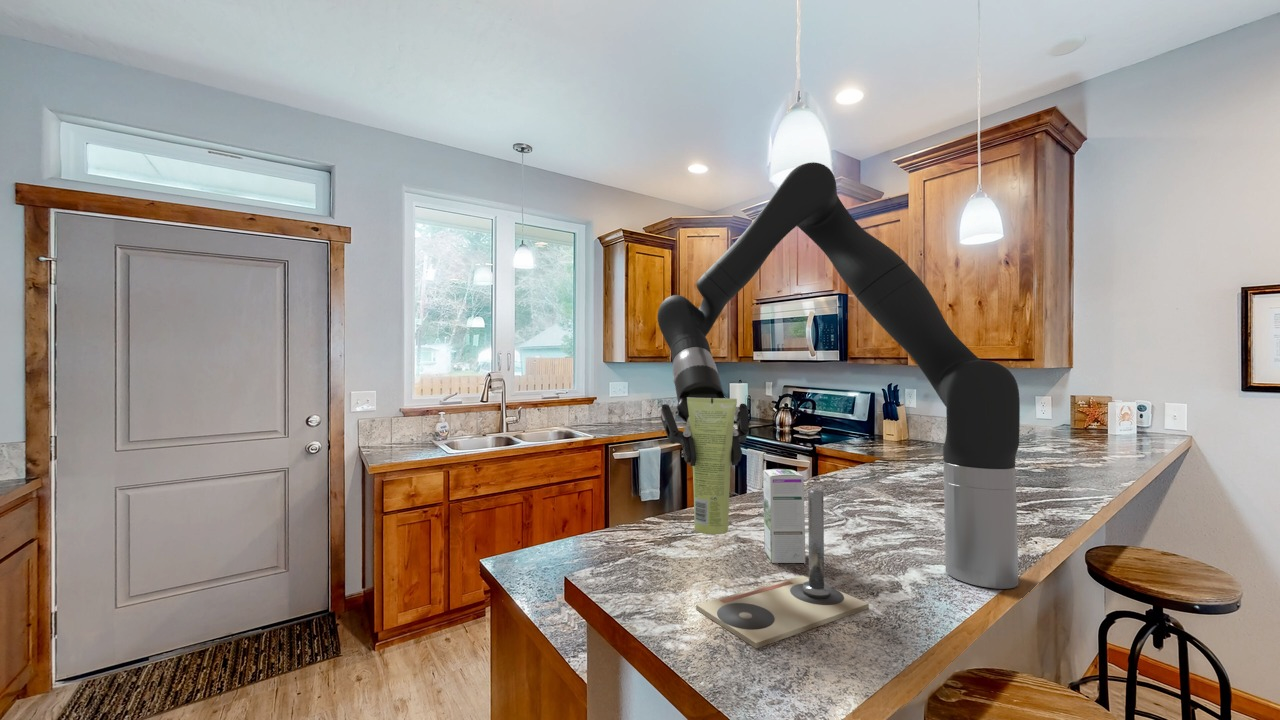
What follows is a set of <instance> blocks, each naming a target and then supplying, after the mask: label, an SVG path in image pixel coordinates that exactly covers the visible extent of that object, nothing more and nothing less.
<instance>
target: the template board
mask: <svg viewBox="0 0 1280 720" xmlns="http://www.w3.org/2000/svg"><path fill="white" fill-rule="evenodd" d="M807 581H809V576H804V575H798V576H796V577H792V578H789V579H785V580H780V581H778V582H774V583H770V584H766V585H764V586H759V587H755V588H752V589H749V590H745V591H741V592H738V593H734V594H731V595H726V596H723V597H719V598H716V599H712V600H708V601H704V602H701V603H697V604H695V609H696V611H698V612H700V613H701V614H703V615H704V616H705V617H707V618H708V619H710V620H712V621H713V622H715V623H716V624H718V625H719V626H721V627H722V628H724V629H726V630H727V631H729V632H730V633H732V634H733V635H734V636H736V637H737V638H739V639H740V640H742V641H744V642H745V643H747V644H749V646H751V647H753V648H754V649H758V648H762V647H764V646H767V645H770V644H773V643H776V642H778V641H779V642H780V641H781V640H783V639H787V638H789V637H792V636H796V635H798V634H801V633H804V632H806V631H810V630H812V629H815V628H817V627H820V626H823V625H826V624H829V623H831V622H834V621H837V620H840V619H843V618H846V617H849V616H851V615H853V614H857V613H859V612H862V611H864V610H865V611H866V610H868V609H869V608H870V606H869V602H866V601H863V600H861V599H859V598H856V597H854V596H852V595H849V594H847V593H845V592H843V591H840V590H837V589H835V588H834V587H832V586H830V588H831V596H830V598H828V599H814V598H810V597H808V596H806V595H805V594H804V593H803V583H804V582H807Z"/></svg>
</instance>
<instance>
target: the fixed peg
mask: <svg viewBox="0 0 1280 720" xmlns="http://www.w3.org/2000/svg"><path fill="white" fill-rule="evenodd" d="M807 493H808V495H807V496H808V497H807V500H808V501H807V502H808V505H807V506H808V508H807V509H808V510H807V511H808V513H807V514H808V519H807V520H808V524H807V526H808V578H809V581H807V582H804V583H803V593H804V594H805V595H806V596H808V597H810V598H814V599H828V598H830V596H831V588H832V587H831V586H830V585H829V584H827V583H825V529H824V528H825V522H824V521H825V520H824V519H825V515H824V512H825V511H824V509H825V508H824V505H825V504H824V502H825V501H824V491H823V490H821V489H816V488H815V489H812V488H811V489H808V491H807ZM830 587H831V588H830Z"/></svg>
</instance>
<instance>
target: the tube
mask: <svg viewBox="0 0 1280 720" xmlns="http://www.w3.org/2000/svg"><path fill="white" fill-rule="evenodd" d="M737 403H738V399H737V398H727V397H726V398H725V397H724V398H690V397H687V405H688V411H689V420H690V429H691V432H692V434H691V438H693V441H694V447H695V452H696V464H695V466H692V478H693V479H692V482H693V483H692V485H693V508H694V509H693V513H694V514H693V515H694V516H693V518H694V519H693V521H694V522H693V523H694V524H693V525H694V530H695V531H696V532H698V533H701V534H704V535H711V536H712V535H714V536H715V535H723V534H726V533H728V531H729V521H730V520H729V516H730V515H729V513H730V482H731V466H732V464H731V451H732V438H733V427H734V428H735V423H734V422H735V421H734V416H735V409H736V407H737Z"/></svg>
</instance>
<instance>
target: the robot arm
mask: <svg viewBox="0 0 1280 720" xmlns="http://www.w3.org/2000/svg"><path fill="white" fill-rule="evenodd" d="M837 190H838V189H837V181H836V177H835V175H834V174H833V172H832V170H831V169H830V168H829V167H828V166H827V165H825V164H822V163H819V162H813V161H812V162H806V163H803V164H800V165H798V166H797V167H796V168H794V169H792V171H790V172H789V173H788V175H787V176H786V177H785V178H784V179H783V181H782V183H781V184H780V185H779V186H778V188H777V189H776V190H775V192H774V193H773V195H772V196H771V198H770V199H769V200H768V201H767V203H766V204H765V206H764V207H763V208H762V210H761V211H760V212H759V213H758V214H757V216H756V217H755V218H754V219H753V221H752V222H751V223H750V225H748V227H747V228H746V229H745V230H744V232H743V233H741V235H740V236H739V237H738V238H737V240H735V242H733V244H731V246H730V247H729V248H728V249H727V250H726V251H724V253H723V254H722V255H721V256H720V257H719V258H717V260H716V261H714V263H713V264H712V265H711V266H710V267H709V268H708V269H707V270H706V271H705V272H704V273H703V274H702V275H701V276H700V277H699V278H698V280H697V281H696V289H697V290H698V292H699V294H700V295H701V296H702V301H701V303H700V305H699V307H697V306H695V305H694V304H693V303H692V302H691V301H690V299H688V298H686V297H685V296H682V295H681V294H673V295H671V296H668V297H666V298H665V299H664V300H663V301H662V302H661V304H660V305H659V308H658V311H657V322H658V323H657V324H658V326H659V329H660V332H661V334H662V335H663V338H664V340H665V343H666V344H667V346H668V348H669V350H670V356H671V362H672V374H673V375H672V376H673V383H674V387H675V392H676V398H677V404H676V405H677V406H671V407H670V405H669V404H666V403H665V404H662V405H661V408H660V409H661V410H660V420H661V422H662V425H663V428H664V431H665V434H666V437H667V439H668V440H667V441H668V442H669V443H670V444H673V445H675V444H676V443H677V444H680V446H682V453H683V458H684V461H685V463H688V464H689V467H693V466H695V464H696V452H695V447H694V441H693V438H691V434H692V432H691V429H690V420H689V411H688V405H687V397H690V398H725V395H724V390H723V389H724V388H723V385H722V384H721V383H722V382H721V379H720V375H719V370H718V368H717V365H716V362H715V360H714V358H713V354H712V350H711V348H710V344H709V341H708V339H707V336H708V334H709V333H710V331H711V329H713V326H714V325H715V323H716V321H717V320H718V318H719V316H720V315H721V313H722V312H723V310H724V308H725V307H726V305H727V304H728V303H729V302H730V301H731V300H732V299H733V298H734V297H735V296H736V295H737V294H738V293H739V292H740V291H741V290H742V289H743V288H744V287H745V286H747V284H748V283H749V282H750V281H751V279H753V278H754V276H755V275H756V274H757V272H758V271H759V270H760V269H761V267H762V266H763V264H764V263H765V261H766V260H767V258H768V257H769V255H770V254H771V253H772V252H773V250H774V249H775V248H776V246H778V245H779V244H780V242H781V241H782V240H783V239H784V238H785V237H786V236H787V235H788V234H789V233H791V231H793V230H794V229H795V228H796V227H797V228H798V229H799V230H801V231H802V232H803V233H804V234H805V235H806V236H808V238H810V240H811V241H812V242H813V243H815V245H817V246H818V248H819V249H820V250H822V252H823V253H824V255H825V256H826V258H827V259H829V260H830V262H831V264H832V265H833V267H834V269H835V270H836V271H837V274H839V276H840V277H841V279H842V280H843V281H844V283H845V284H846V285H847V287H848V288H849V290H850V291H851V292H852V294H853V295H854V296H855V298H856V299H857V300H858V301H859V302H860V304H861V305H862V306H863V307H864V309H866V311H867V312H868V313H869V314H870V315H871V317H872V318H874V320H875V321H876V322H877V323H878V324H879V325H880V326H881V328H882V329H884V331H886V333H888V335H889V336H890V337H891V338H892V339H893V340H894V341H895V342H896V343H897V344H899V345H900V346H901V348H902V349H904V351H905V352H906V353H907V354H908V355H909V356H910V357H911V358H912V359H913V361H914V362H915V363H916V364H917V366H918V367H919V368H920V370H921V372H922V373H923V374H924V376H925V377H926V378H927V380H928V381H929V383H930V385H931V386H932V388H933V390H934V391H935V392H936V394H937V396H938V397H939V399H940V400H941V402H942V404H943V405H944V406H945V407H946V408H945V409H946V412H945V413H946V435H945V439H944V443H943V449H942V452H943V453H942V454H943V455H942V457H943V460H942V461H943V495H944V496H943V497H944V498H943V499H944V500H943V501H944V502H943V503H944V504H943V505H944V549H945V550H944V551H945V552H944V556H945V559H944V560H945V563H944V564H945V572H946V574H947V575H949V576H950V577H951V578H954V579H956V580H959V581H961V582H964V583H966V584H969V585H970V584H971V585H974V586H978V587H984V588H990V589H999V590H1001V589H1002V590H1005V589H1013V588H1016V587H1018V586H1019V550H1018V549H1019V548H1018V514H1017V513H1018V510H1017V480H1016V479H1017V477H1016V474H1017V473H1016V456H1017V452H1018V449H1019V448H1020V447H1019V446H1020V423H1021V422H1020V419H1021V415H1020V412H1021V411H1020V410H1021V408H1020V407H1021V406H1020V405H1021V404H1020V401H1021V400H1020V390H1019V385H1018V382H1017V380H1016V378H1015V376H1014V375H1013V373H1012V372H1011V371H1010V370H1009V369H1008V368H1007V367H1005V366H1004V365H1002V364H1000V363H999V362H995V361H991V360H988V359H987V360H985V359H984V360H983V359H980V358H979V357H978V356H977V355H975V353H974V352H973V351H971V350H970V349H969V347H968V346H966V345H965V344H964V342H962V340H960V338H959V337H958V336H957V335H956V334H955V333H954V331H953V330H952V328H950V326H949V324H948V323H947V321H946V319H945V318H944V316H943V314H942V312H941V310H940V308H939V306H938V304H937V303H936V301H935V299H934V298H933V296H932V294H931V292H930V290H929V289H928V288H927V286H926V284H924V281H922V280H921V278H920V277H919V276H918V275H917V274H916V273H915V272H914V270H913V269H912V268H911V267H910V266H909V265H908V263H906V261H905V260H904V259H903V258H902V257H901V256H900V255H899V254H898V253H896V252H895V251H894V250H893V249H891V248H890V247H889V246H888V245H886V244H885V243H883V242H882V241H881V240H879V239H877V238H876V237H875V236H873V235H871V233H868V232H867V230H865V229H864V228H863V227H862V226H860V225H859V223H857V221H856V220H855V219H854V218H853V216H852V214H851V213H850V212H849V211H848V209H847V208H846V206H845V205H844V204H843V202H842V201H841V199H840V197H839V196H838V193H837V192H838V191H837ZM748 413H749V412H748V405H747V404H746V403H740V404H739V406H736V409H735V416H734V422H736V427H737V429H736V428H735V426H734V427H733V438H732V451H731V466H738V464H739V462H741V459H742V456H743V450H742V447H741V443H746V441H747V437H748V435H749V432H750V424H749V414H748ZM676 416H678V417H679V418H680V419H682V421H684V423H685V426H684V429H683V431H682V430H679V427H678V425H677V423H676Z"/></svg>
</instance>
